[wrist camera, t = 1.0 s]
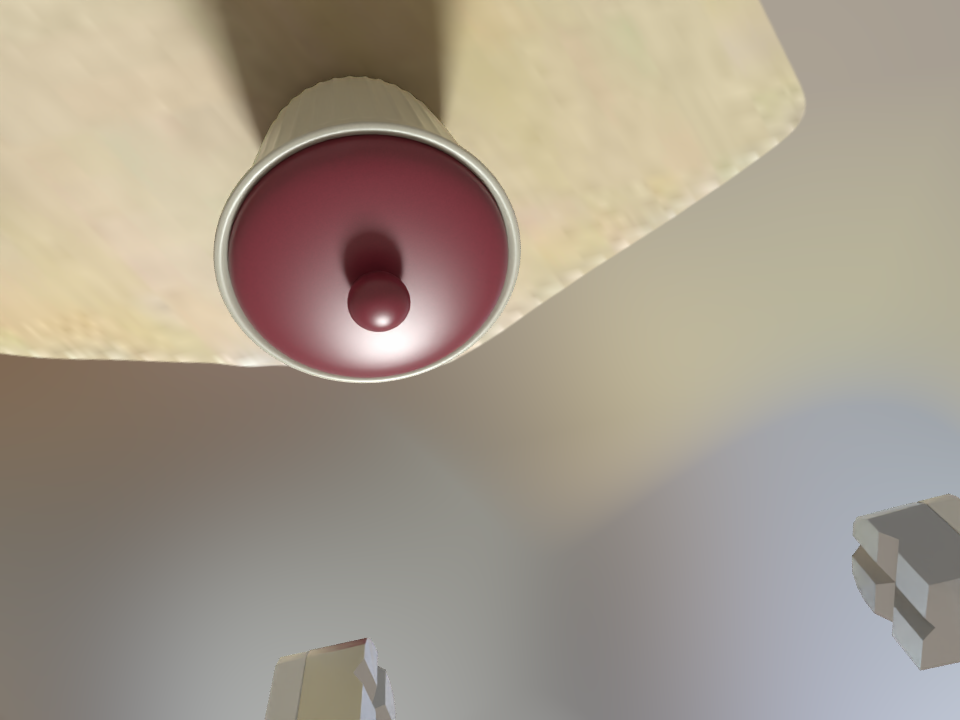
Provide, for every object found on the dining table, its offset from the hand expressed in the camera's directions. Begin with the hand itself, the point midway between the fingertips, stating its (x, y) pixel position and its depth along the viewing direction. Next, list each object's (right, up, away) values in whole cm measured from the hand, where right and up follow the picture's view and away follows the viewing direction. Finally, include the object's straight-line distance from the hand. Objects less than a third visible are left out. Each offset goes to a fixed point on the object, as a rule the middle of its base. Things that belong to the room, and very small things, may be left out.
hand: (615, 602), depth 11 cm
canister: (-12, +20, +42) cm, 48 cm away
